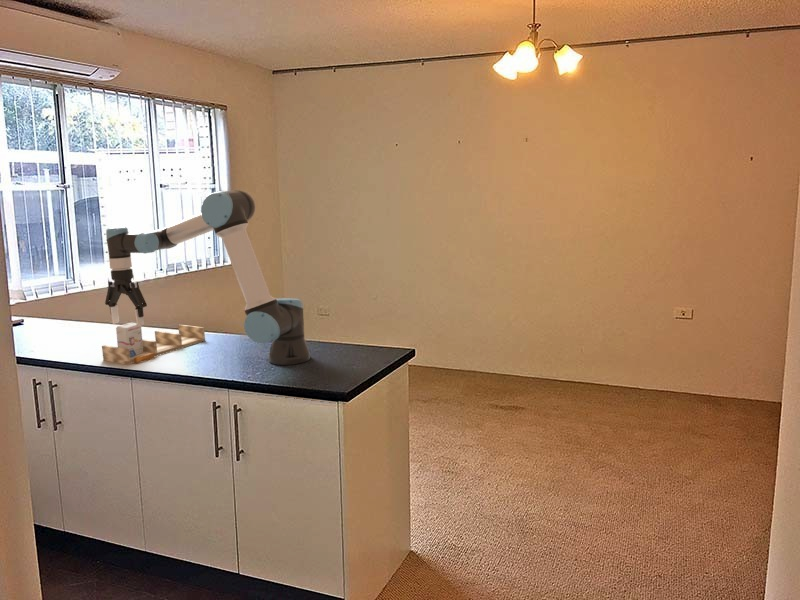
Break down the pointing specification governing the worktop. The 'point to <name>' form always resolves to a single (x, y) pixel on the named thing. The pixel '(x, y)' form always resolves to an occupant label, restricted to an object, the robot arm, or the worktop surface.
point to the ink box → (130, 338)
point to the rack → (156, 345)
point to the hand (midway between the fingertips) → (128, 324)
